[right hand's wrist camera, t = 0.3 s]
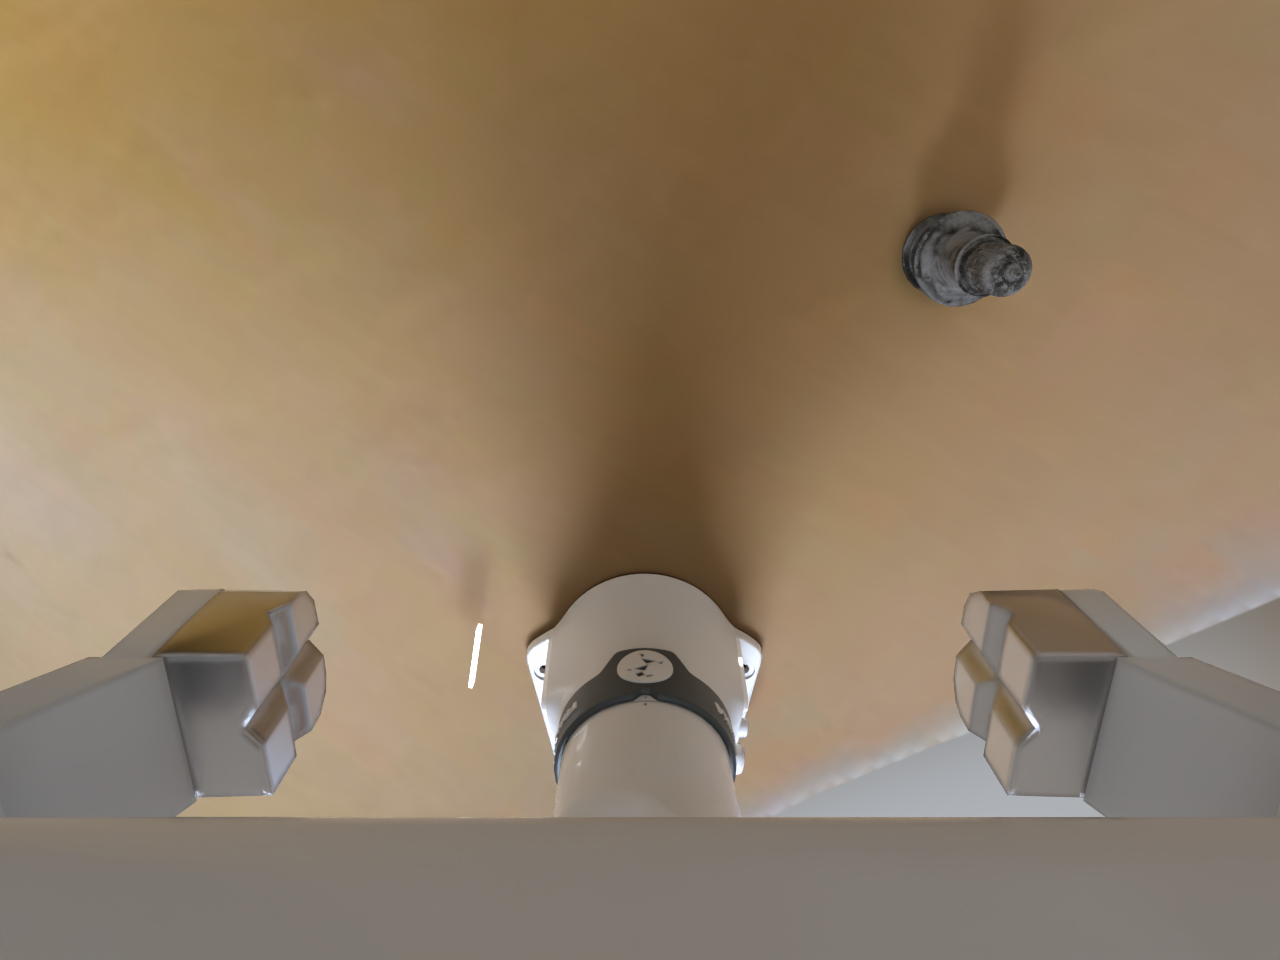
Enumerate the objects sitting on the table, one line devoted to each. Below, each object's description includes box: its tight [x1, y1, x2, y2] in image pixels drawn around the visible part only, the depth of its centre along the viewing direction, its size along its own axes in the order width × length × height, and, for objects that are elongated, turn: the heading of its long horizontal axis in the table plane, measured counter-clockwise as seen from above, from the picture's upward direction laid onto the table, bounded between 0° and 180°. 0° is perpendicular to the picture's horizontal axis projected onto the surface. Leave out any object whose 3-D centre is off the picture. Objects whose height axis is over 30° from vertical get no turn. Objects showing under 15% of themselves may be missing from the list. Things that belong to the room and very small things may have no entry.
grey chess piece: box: [902, 211, 1032, 306], centre depth 49 cm, size 6×6×12 cm
